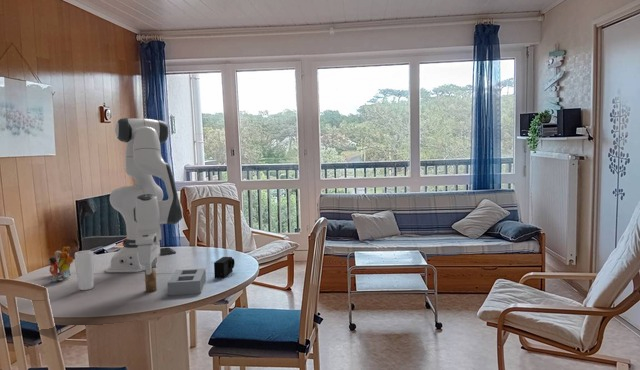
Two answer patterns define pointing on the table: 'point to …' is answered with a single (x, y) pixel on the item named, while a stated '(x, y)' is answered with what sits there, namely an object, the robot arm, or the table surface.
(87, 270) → the drinking glass
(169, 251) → the phone
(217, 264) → the digital camera
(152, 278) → the walnut dowel
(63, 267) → the doll family
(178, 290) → the socket block
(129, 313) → the table surface
